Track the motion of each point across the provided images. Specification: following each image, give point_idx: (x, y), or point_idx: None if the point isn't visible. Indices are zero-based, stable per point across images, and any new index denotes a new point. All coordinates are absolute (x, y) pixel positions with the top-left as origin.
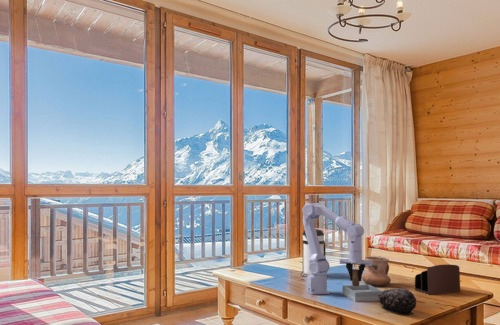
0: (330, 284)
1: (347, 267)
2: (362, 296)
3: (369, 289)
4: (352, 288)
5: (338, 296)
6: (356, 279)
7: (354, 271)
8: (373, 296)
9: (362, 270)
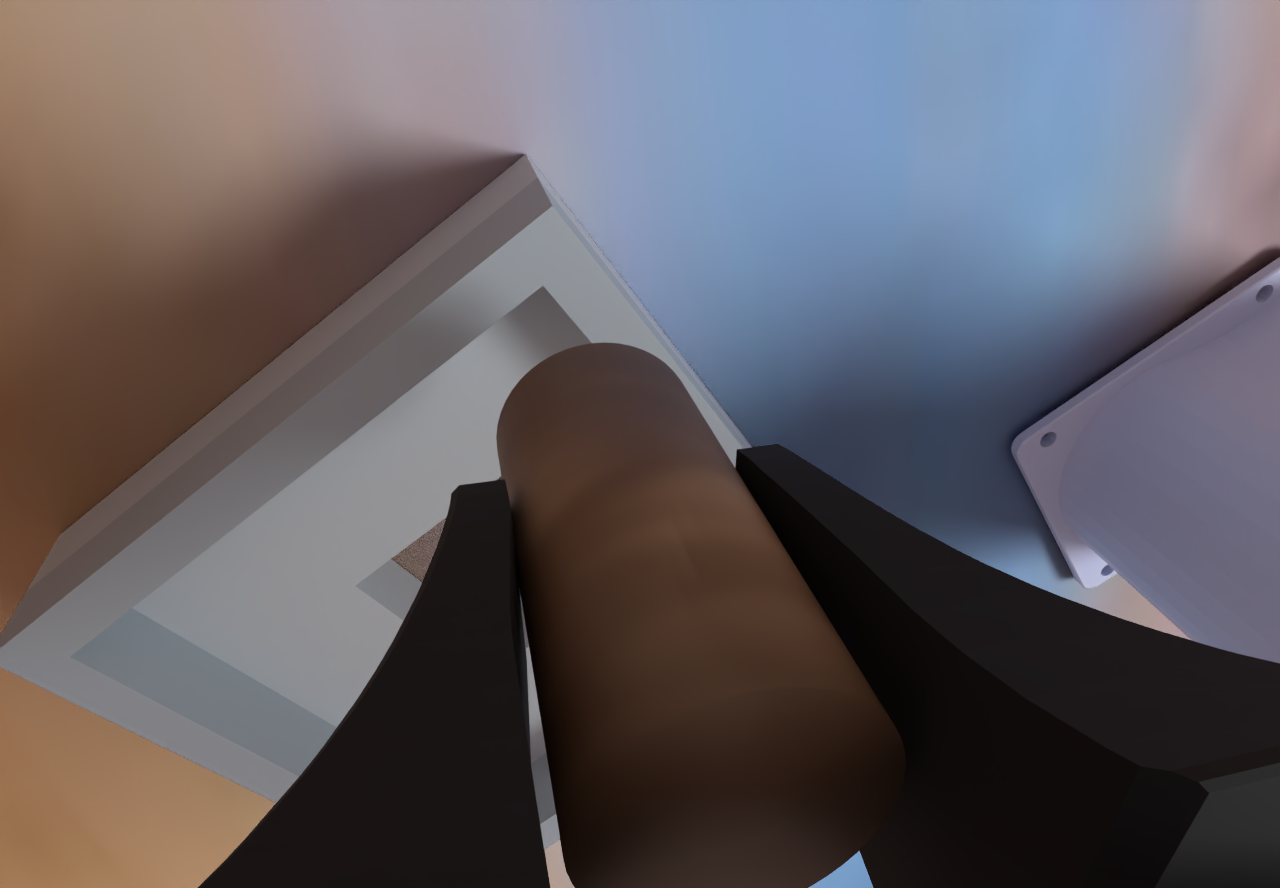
0: None
1: (1264, 685)
2: (395, 297)
3: None
4: None
5: (872, 373)
6: (590, 454)
7: (764, 648)
8: (194, 452)
9: (290, 803)
